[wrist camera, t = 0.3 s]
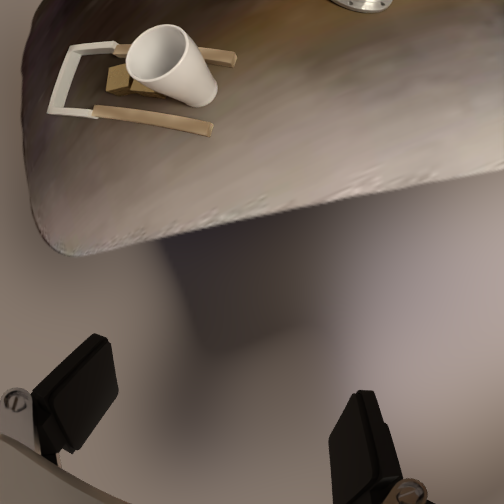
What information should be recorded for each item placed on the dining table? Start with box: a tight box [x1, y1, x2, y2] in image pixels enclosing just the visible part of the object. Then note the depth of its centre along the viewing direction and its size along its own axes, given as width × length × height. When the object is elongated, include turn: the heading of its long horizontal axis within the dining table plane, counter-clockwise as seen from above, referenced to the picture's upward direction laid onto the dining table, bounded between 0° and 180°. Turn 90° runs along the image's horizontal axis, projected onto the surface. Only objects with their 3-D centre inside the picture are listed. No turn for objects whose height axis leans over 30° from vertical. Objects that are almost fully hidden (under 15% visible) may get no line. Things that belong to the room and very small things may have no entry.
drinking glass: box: [126, 24, 218, 107], centre depth 27 cm, size 7×7×15 cm
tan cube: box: [106, 63, 135, 96], centre depth 33 cm, size 4×4×4 cm
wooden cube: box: [130, 79, 166, 99], centre depth 32 cm, size 4×4×4 cm
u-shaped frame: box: [47, 41, 119, 119], centre depth 33 cm, size 13×11×3 cm
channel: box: [91, 44, 237, 137], centre depth 33 cm, size 13×20×2 cm, turn 73°
